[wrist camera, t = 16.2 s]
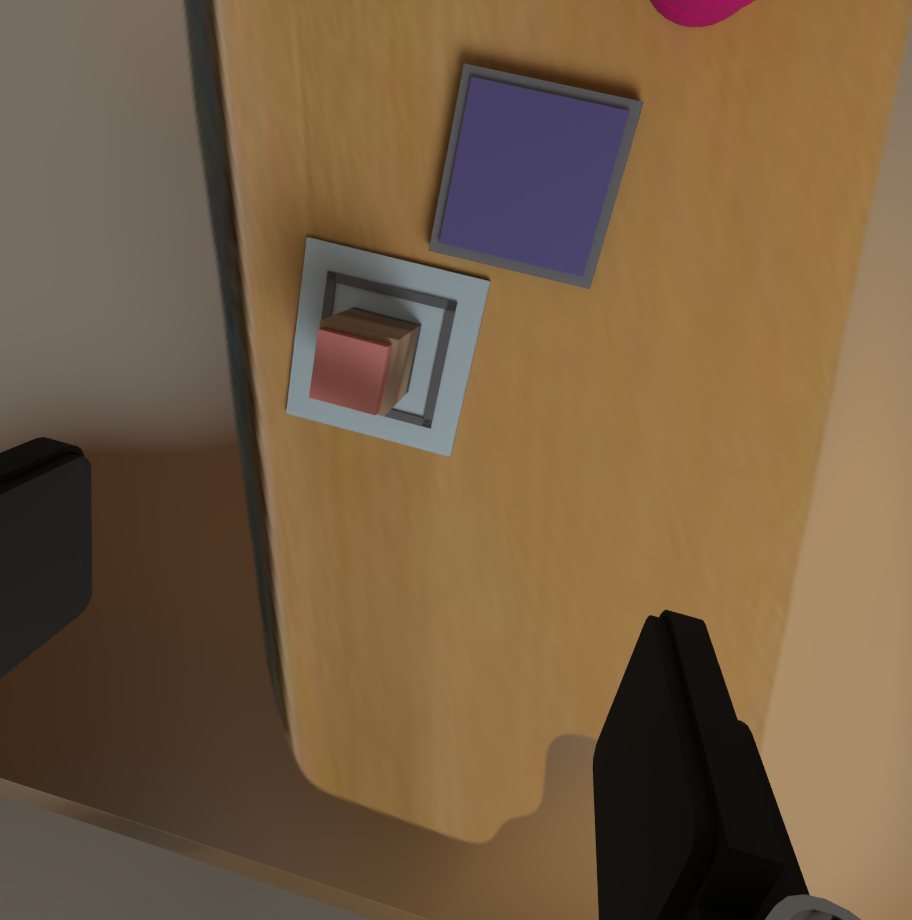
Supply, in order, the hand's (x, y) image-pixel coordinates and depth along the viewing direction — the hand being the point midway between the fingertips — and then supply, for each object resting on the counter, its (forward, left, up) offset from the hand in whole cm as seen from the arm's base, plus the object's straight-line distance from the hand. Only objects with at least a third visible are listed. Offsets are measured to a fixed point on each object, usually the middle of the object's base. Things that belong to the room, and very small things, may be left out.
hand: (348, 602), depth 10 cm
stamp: (+4, -8, -32) cm, 33 cm away
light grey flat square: (+4, -8, -32) cm, 34 cm away
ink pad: (-8, -1, -32) cm, 33 cm away
